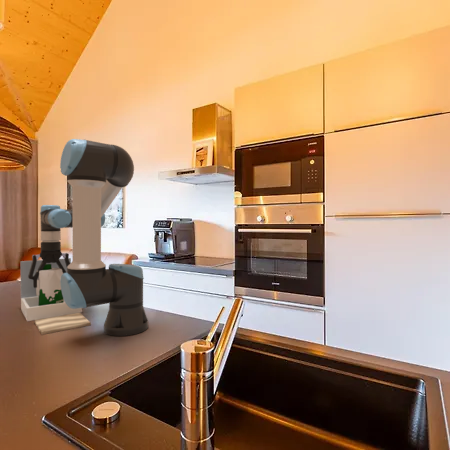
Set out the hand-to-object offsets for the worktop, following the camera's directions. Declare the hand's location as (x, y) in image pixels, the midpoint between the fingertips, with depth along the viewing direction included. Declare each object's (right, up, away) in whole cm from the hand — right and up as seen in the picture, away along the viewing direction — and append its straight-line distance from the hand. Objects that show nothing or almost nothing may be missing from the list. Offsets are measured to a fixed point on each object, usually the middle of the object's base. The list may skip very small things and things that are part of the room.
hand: (51, 293), depth 137 cm
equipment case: (-2, -7, +3) cm, 8 cm away
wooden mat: (+14, -8, -17) cm, 23 cm away
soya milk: (0, -8, 0) cm, 8 cm away
